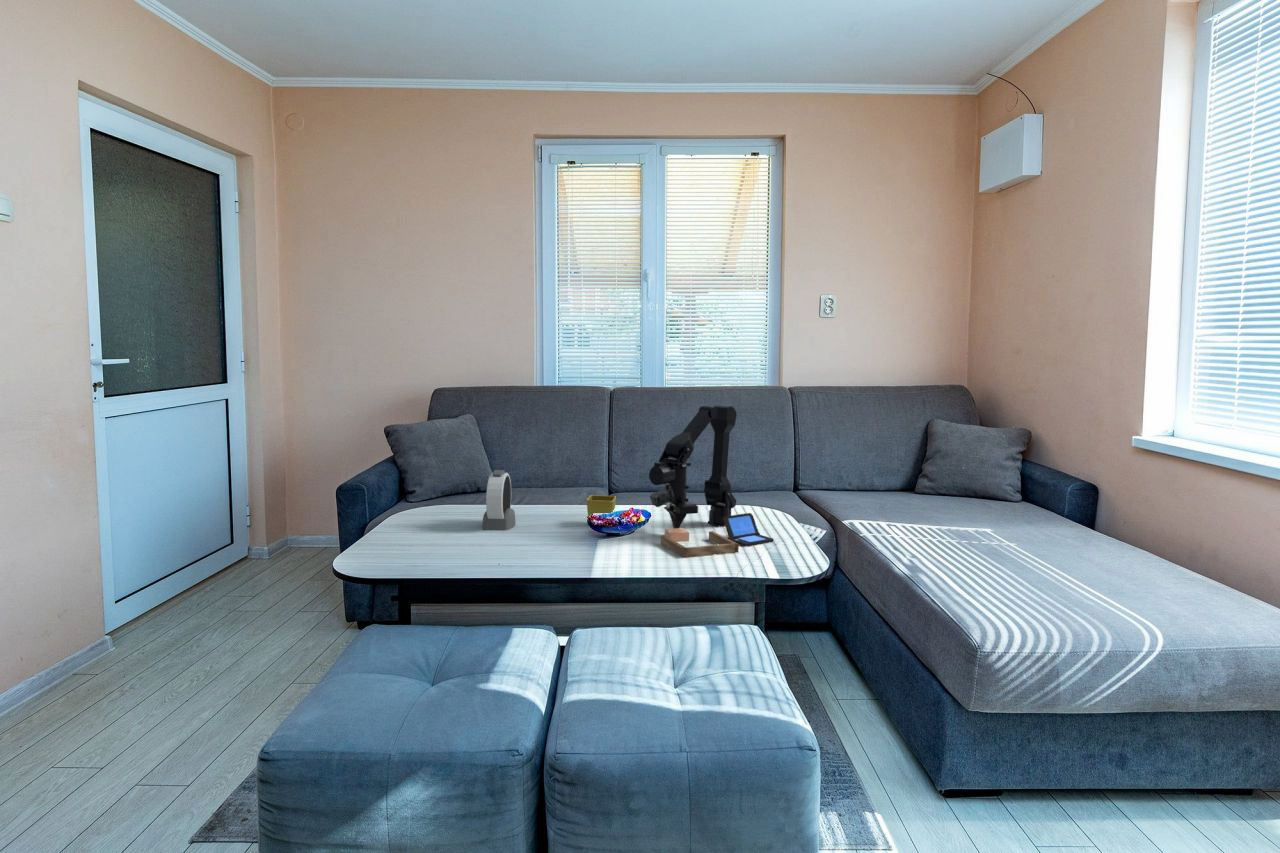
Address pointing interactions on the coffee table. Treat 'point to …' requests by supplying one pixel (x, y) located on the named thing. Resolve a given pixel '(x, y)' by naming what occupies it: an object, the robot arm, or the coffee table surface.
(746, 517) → the handheld game console
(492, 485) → the grey ring on stand
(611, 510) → the flower pot
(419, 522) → the coffee table surface
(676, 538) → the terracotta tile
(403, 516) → the coffee table surface
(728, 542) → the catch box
